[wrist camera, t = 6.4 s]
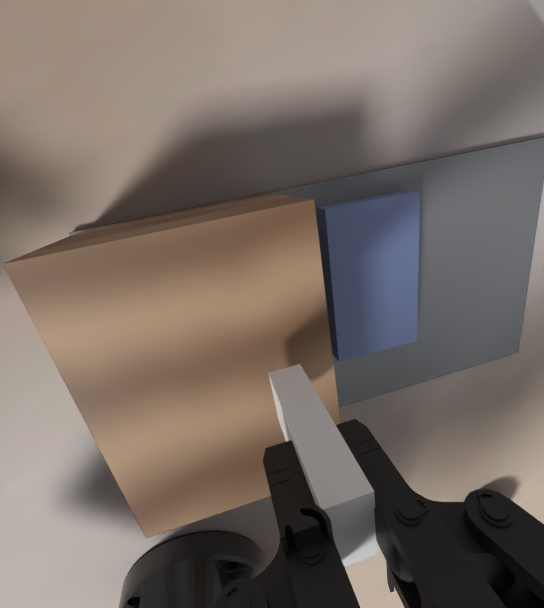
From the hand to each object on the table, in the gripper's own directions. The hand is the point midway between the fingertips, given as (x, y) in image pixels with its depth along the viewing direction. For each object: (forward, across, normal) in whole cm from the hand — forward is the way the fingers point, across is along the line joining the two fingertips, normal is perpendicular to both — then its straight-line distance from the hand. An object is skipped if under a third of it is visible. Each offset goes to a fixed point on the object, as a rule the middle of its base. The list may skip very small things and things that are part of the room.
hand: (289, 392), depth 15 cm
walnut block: (+11, +3, 0) cm, 12 cm away
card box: (+9, -9, 0) cm, 13 cm away
